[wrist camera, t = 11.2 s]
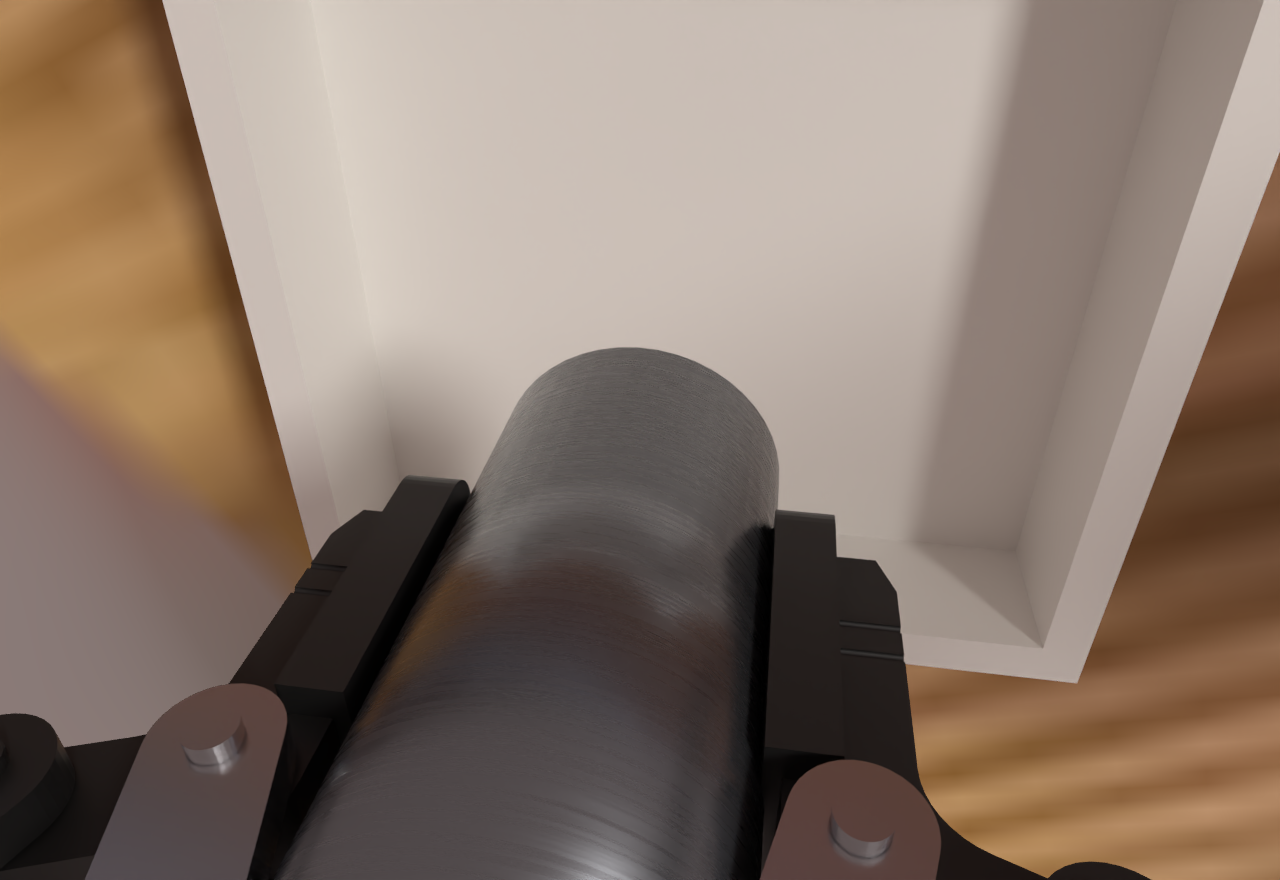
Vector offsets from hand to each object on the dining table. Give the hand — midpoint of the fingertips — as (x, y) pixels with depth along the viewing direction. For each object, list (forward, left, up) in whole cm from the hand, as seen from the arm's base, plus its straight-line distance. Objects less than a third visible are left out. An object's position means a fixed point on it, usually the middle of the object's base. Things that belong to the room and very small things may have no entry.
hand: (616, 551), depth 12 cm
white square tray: (0, 0, -12) cm, 12 cm away
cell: (0, 0, -2) cm, 2 cm away
